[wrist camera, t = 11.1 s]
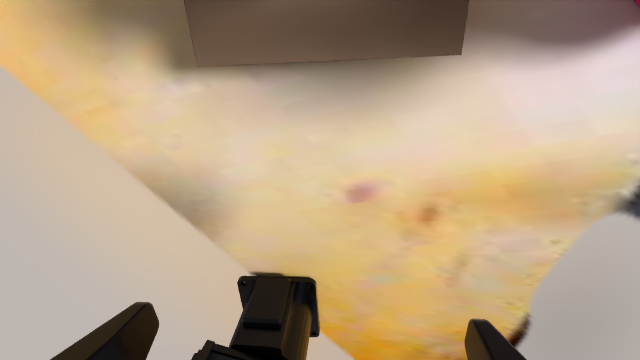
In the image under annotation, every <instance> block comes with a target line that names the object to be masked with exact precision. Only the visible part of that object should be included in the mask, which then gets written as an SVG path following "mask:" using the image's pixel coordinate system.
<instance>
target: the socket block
mask: <svg viewBox="0 0 640 360" xmlns="http://www.w3.org/2000/svg"><path fill="white" fill-rule="evenodd" d="M468 3H469V0H184V4H185V9H186V13H187V18H188V23H189V28H190V32H191V37H192V42H193V46H194V51H195V56H196V61H197V65H198V67H200V66H222V65H245V64H267V63H290V62H312V61H335V60H357V59H380V58H402V57H424V56H447V55H461V54H462V47H463V40H464V32H465V25H466V18H467V10H468Z"/></svg>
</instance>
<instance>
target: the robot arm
mask: <svg viewBox="0 0 640 360" xmlns="http://www.w3.org/2000/svg"><path fill="white" fill-rule="evenodd" d="M244 282H245V283H244ZM237 283H238V289H239V293H240V298H241V302H242V306H243V312H242V315H241V317H240V320H239V322H238V325H237V328H236V330H235V332H234V335H233V337H232V340H231V342H230V345H229V347H225V346H222V345H219V344H215V342H213V341H210V340H207V341H206V343H205V345H204V346H203V348H202V350H199V351H198V353H195V354H194V356H193V357H192V360H306V356H307V349H308V343H309V337H318V336H319V332H320V327H319V314H318V300H317V287H316V281H315V280H313V279H310V278H286V277H259V276H241V277H240V278H239V280H238V282H237ZM308 284H310V285H308ZM158 328H159V320H158V318H157V315H156V313H155V310H154V308H153V305H152V304H151V303H149V302H136V303H134V304H133V305H131V306H130V307H128V308H127V309H125V310H124V311H122V312H121V313H119V314H118V315H116V316H115V317H114V318H112V319H110V320H109V321H107V322H106V323H104V324H103V325H101V326H100V327H98V328H97V329H95V330H94V331H92V332H91V333H89V334H88V335H87V336H85V337H83V338H82V339H80V340H79V341H77V342H76V343H74V344H73V345H72V346H70V347H68V348H67V349H65V350H64V351H63V352H61V353H60V354H58V355H56V356H55V357H53V358H52V359H50V360H146V358H147V355H148V353H149V350H150V348H151V346H152V343H153V341H154V338H155V336H156V334H157V331H158ZM465 349H466V354H467V358H468V360H526V359H525V358H524V357H523V356H522V355H521V353H519V351H518V350H517V349H516V348H515V347H514V346H513V345H512V344H511V343H510V342H509V341H508V340H507V339H506V338H505V337H504V336H503V335H502V334H501V333H500V332H499V331H498V330H497V329H496V328H495V327H494V326H493V325H492V324H491V323H490V322H489V321H487V320H485V319H471V320H470V321H469V323H468V328H467V332H466V337H465Z"/></svg>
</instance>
